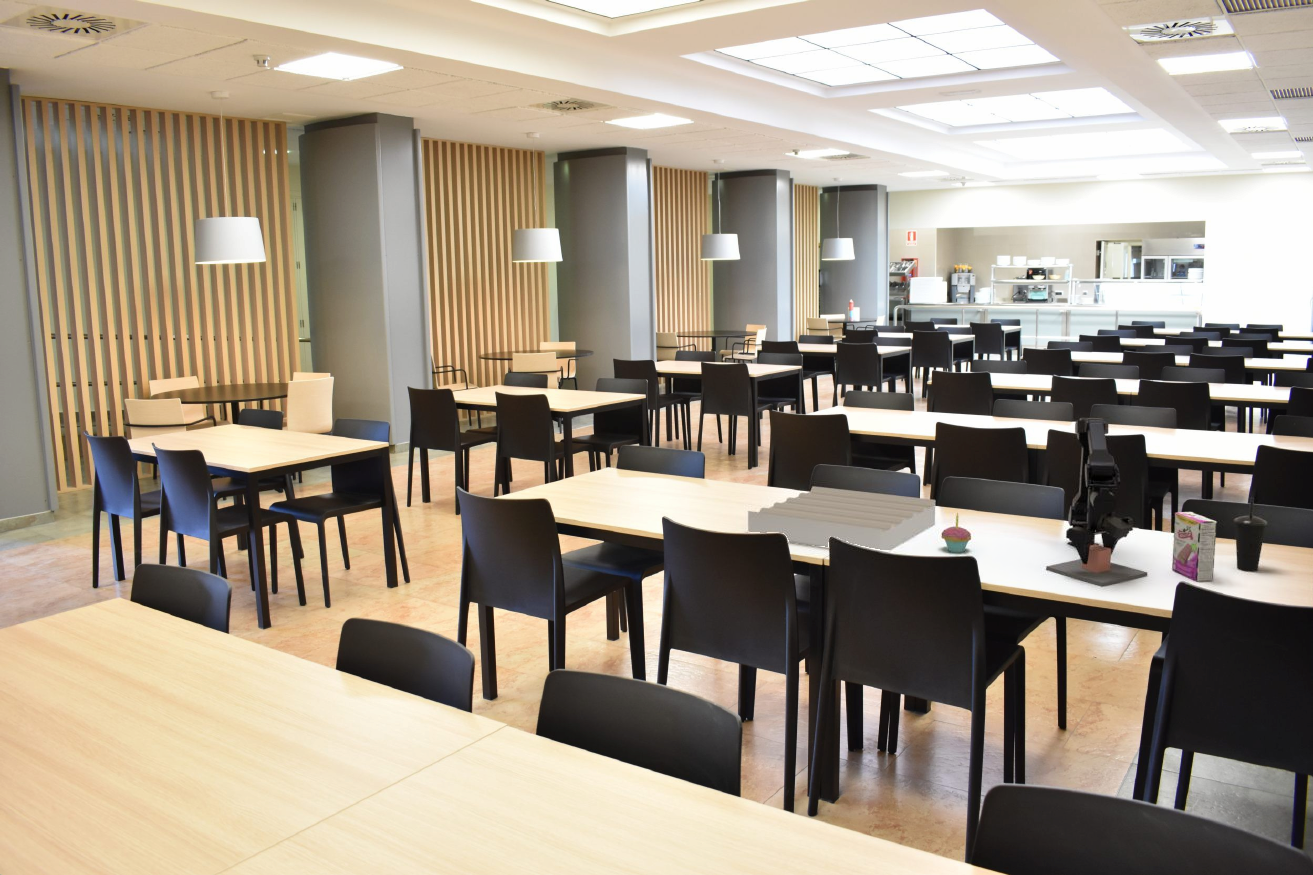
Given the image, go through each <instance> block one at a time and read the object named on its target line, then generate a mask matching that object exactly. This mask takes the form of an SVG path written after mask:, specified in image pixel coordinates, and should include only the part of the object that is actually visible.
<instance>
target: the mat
mask: <svg viewBox="0 0 1313 875" xmlns="http://www.w3.org/2000/svg"><path fill="white" fill-rule="evenodd" d="M1045 570H1046V571H1048V570H1049V571H1048V572H1052V573H1055V574H1058V573H1059V575H1062V576H1066V577H1070V578H1072V579H1076V580H1079V581H1083V582H1085V583H1089V584H1092V585H1096V586H1099V587H1106V586H1107V587H1108V586H1111V585H1114V584H1120V583H1123V582H1128V581H1131V580H1135V579H1140V578H1144V577H1148V572H1147V571H1145V570H1141V569H1137V568H1134V567H1129V566H1126V565H1122V564H1119V563H1114V562H1111V561H1110V570H1108V571H1104V572H1099V573H1096V572H1093V571H1089V570H1086V569H1082V560H1081V558H1079V559H1075V560H1069V561H1065V562H1060V563H1057V564H1050V565H1046V567H1045Z"/></svg>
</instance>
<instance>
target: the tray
mask: <svg viewBox="0 0 1313 875" xmlns="http://www.w3.org/2000/svg"><path fill="white" fill-rule="evenodd" d="M747 522H748V523H747V525H748V526H747V528H748V529H747V531H749V532H760V533H767V532H779V533H784V534H785V535H786V536H787V538H788V540H789V542H790V543H789V544H794V543H798V544H797V545H801V544H806V545H805V546H808V545H814V546H825V547H828V542H829V537H830V536H835V537H838V538H840V539H842V540H844V541H848V542H849V543H852V544H857V545H860V546H865V547H869V548H875V549H880V550H890V551H892V550H894V549H896V548H897V547H899V546H901V545H902V544H904V543H906V542H908V541H910V540H911V539H914V538H915V537H917V536H918V535H920V534H922V533H923V532H925V531H926V530H930V529H931V528H932V527H934V526H935V525H936V499H929V498H922V497H912V496H904V495H903V496H902V495H895V494H885V493H878V492H877V493H875V492H867V491H857V490H850V489H840V488H832V487H831V488H830V487H823V486H812V487H811V490H810V491H809V492H800V493H799V495H798V496H796V497H789V496H788V497H787V498H786V501H783V502H777V501H776V502H774V503H773V506H770V507H761V508H760V509H759V511H752V510H748V511H747ZM814 546H813V547H814Z"/></svg>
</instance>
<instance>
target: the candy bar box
mask: <svg viewBox="0 0 1313 875" xmlns="http://www.w3.org/2000/svg"><path fill="white" fill-rule="evenodd" d="M1217 523H1218V521H1216V520H1213V519H1211V518H1208V517H1206V516H1203V515H1200V514H1198V513H1195V512H1193V511H1182V512H1181V511H1177V512H1174V526H1173V527H1174V528H1173V545H1172V546H1173V548H1172V549H1173V550H1172V565H1171V566H1172V567H1171V570H1172V571H1174V572H1176V573H1178V574H1180V575H1182V576H1184V577H1185V578H1188V579H1191V580H1193V582H1199V583H1200V582H1202V583H1203V582H1213V581H1214V571H1215V570H1214V568H1215V556H1216V555H1215V554H1216V539H1217V538H1216V537H1217V536H1216V535H1217Z"/></svg>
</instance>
